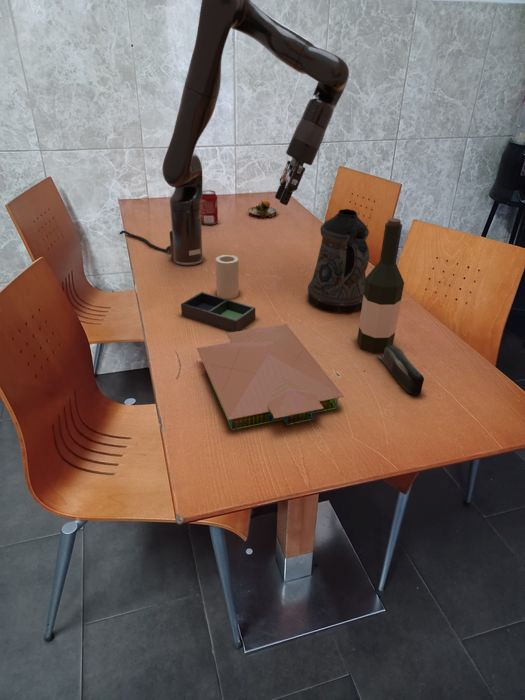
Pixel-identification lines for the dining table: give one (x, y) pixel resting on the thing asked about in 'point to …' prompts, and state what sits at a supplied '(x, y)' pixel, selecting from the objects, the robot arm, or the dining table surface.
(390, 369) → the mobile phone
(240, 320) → the tray
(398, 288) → the wine bottle
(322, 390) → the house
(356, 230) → the beer stein
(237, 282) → the jar
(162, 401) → the dining table surface
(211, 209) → the soda can
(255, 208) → the plate of food
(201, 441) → the dining table surface
